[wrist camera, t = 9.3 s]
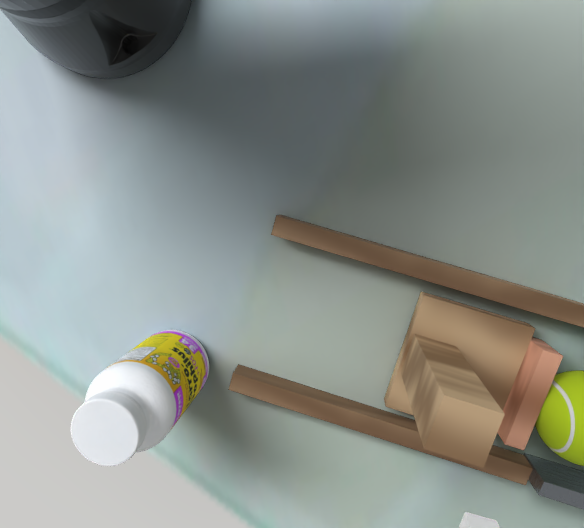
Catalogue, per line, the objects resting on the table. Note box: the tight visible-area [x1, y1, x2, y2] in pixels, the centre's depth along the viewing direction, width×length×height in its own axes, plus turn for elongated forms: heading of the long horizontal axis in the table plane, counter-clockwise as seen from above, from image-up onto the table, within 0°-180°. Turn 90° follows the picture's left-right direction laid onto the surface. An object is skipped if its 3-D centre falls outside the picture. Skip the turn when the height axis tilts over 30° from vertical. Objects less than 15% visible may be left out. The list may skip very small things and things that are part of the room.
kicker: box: [384, 291, 563, 468], centre depth 32 cm, size 10×10×13 cm
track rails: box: [229, 215, 584, 485], centre depth 38 cm, size 16×26×2 cm, turn 74°
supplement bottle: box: [71, 330, 209, 466], centre depth 36 cm, size 7×7×13 cm
